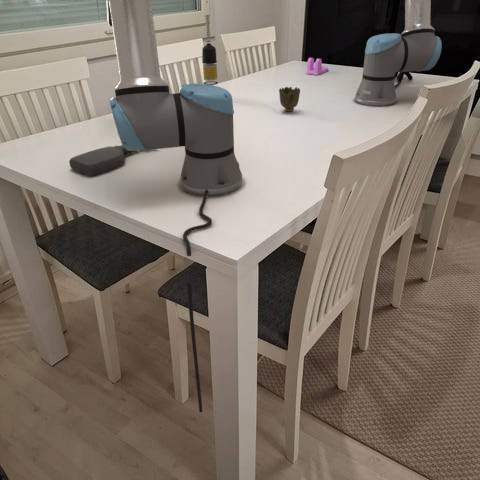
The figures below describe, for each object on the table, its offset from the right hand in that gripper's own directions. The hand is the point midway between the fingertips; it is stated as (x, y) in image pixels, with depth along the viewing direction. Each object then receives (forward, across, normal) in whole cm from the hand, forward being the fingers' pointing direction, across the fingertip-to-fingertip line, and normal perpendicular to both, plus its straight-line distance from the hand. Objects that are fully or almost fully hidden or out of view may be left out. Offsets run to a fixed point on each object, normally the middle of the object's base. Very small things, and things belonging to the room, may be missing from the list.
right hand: (479, 11), depth 128 cm
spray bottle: (+33, -56, -91) cm, 112 cm away
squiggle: (+33, -43, +48) cm, 73 cm away
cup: (+33, -49, -23) cm, 64 cm away
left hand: (+10, -84, -62) cm, 105 cm away
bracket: (+33, -81, +39) cm, 96 cm away
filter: (+33, -85, -29) cm, 95 cm away
